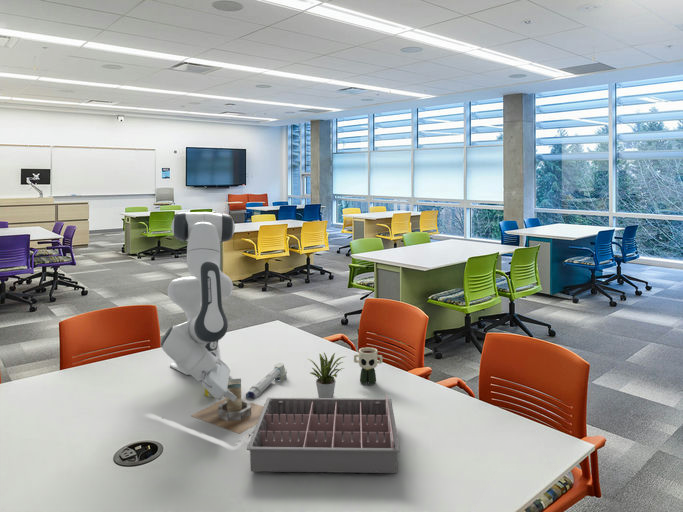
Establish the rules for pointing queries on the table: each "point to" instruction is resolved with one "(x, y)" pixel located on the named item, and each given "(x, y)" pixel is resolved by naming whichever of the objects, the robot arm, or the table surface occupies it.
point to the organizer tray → (325, 436)
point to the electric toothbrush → (267, 380)
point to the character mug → (368, 364)
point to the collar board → (230, 424)
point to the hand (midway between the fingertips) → (236, 393)
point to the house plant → (326, 376)
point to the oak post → (235, 387)
